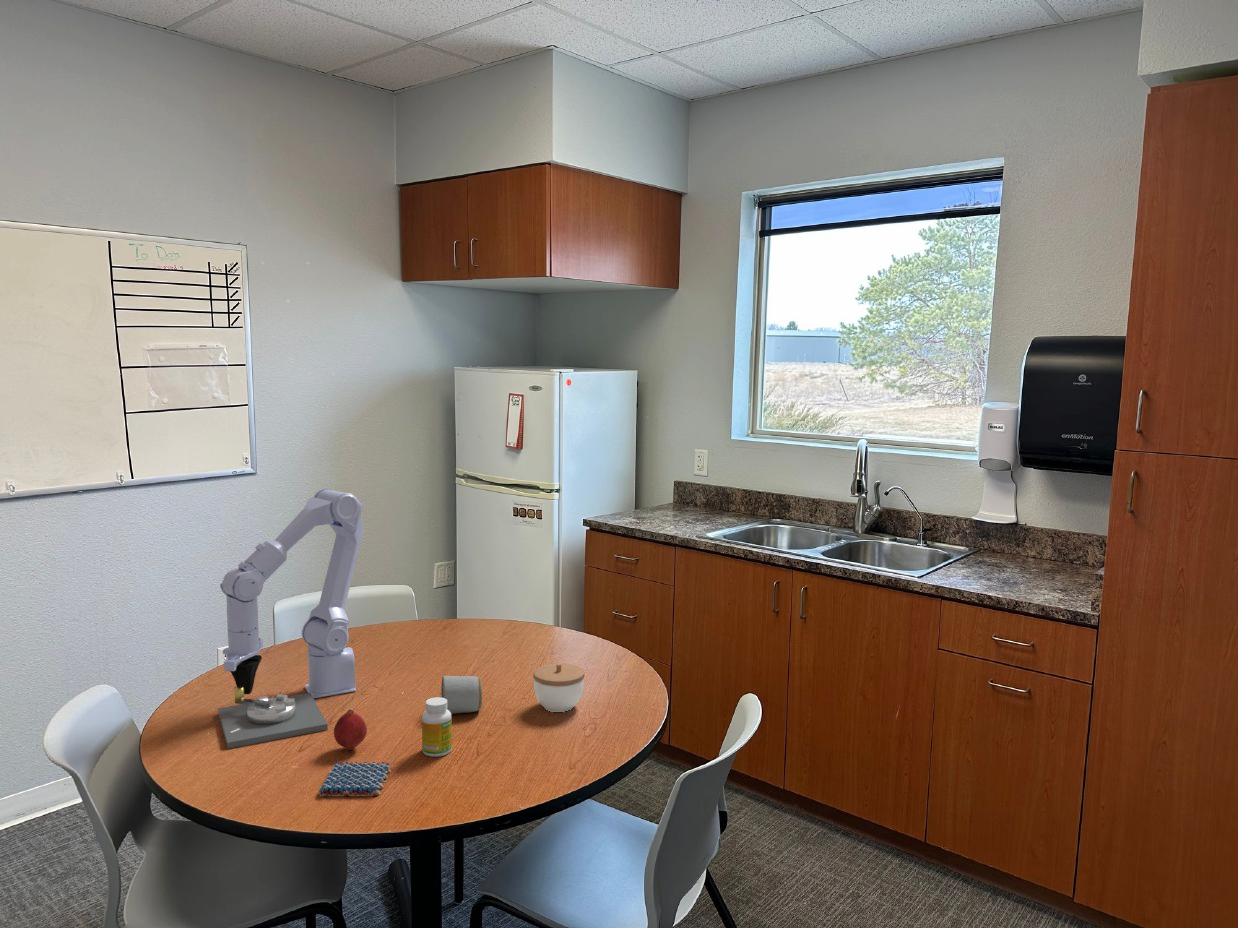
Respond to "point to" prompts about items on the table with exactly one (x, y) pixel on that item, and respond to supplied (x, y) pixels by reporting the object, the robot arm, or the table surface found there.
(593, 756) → the table surface
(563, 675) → the lidded jar
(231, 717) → the base plate
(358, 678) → the table surface
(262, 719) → the lathe jaw chuck
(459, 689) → the ceramic mug
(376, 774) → the woven mat
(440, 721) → the supplement bottle
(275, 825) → the table surface
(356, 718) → the onion
